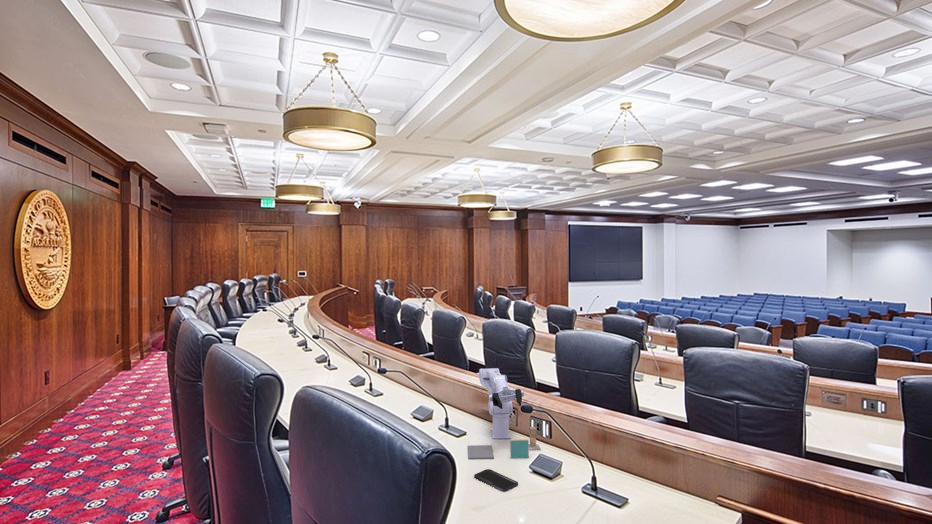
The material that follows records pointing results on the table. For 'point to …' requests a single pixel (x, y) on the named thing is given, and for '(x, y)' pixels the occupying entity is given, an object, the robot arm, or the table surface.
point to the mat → (480, 452)
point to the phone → (496, 480)
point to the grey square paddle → (533, 440)
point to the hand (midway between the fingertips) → (510, 405)
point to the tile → (519, 448)
